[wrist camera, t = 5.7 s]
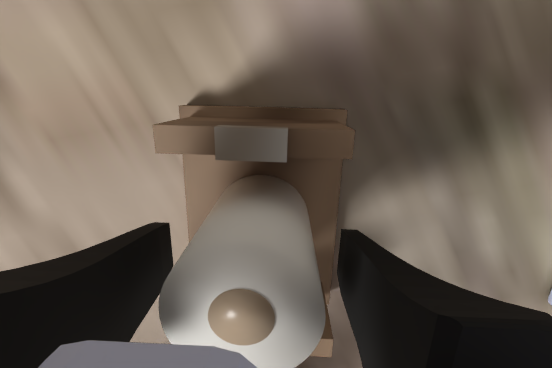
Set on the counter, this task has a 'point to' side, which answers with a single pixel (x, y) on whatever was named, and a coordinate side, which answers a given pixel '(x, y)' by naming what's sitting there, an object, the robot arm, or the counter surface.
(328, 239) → the holder
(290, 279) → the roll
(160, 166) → the counter surface
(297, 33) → the counter surface
